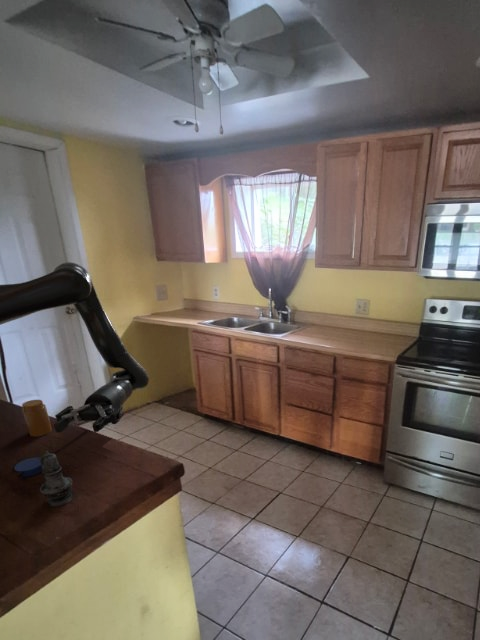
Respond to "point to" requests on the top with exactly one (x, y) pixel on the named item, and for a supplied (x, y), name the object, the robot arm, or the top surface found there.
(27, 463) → the lid
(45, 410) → the jar
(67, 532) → the top surface
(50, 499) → the grey metal fitting
